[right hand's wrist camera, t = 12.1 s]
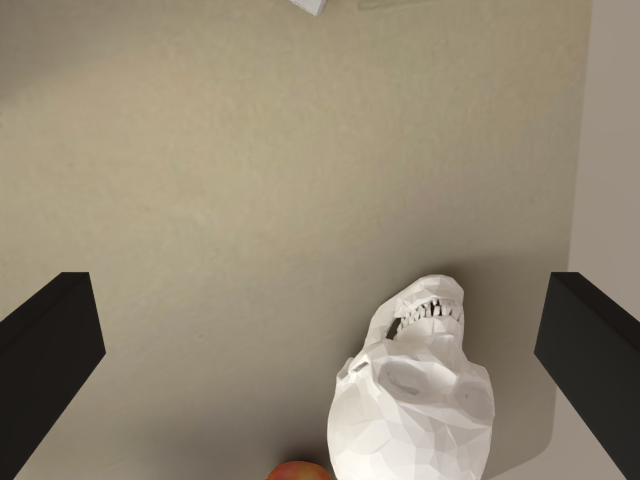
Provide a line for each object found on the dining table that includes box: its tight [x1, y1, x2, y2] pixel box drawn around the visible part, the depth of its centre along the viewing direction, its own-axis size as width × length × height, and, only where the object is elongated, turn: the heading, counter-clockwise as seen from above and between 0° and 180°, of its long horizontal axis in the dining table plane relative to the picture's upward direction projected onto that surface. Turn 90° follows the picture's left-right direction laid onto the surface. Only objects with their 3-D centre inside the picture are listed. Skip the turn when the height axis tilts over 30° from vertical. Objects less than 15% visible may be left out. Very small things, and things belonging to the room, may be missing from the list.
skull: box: [327, 275, 495, 480], centre depth 41 cm, size 13×22×16 cm, turn 165°
